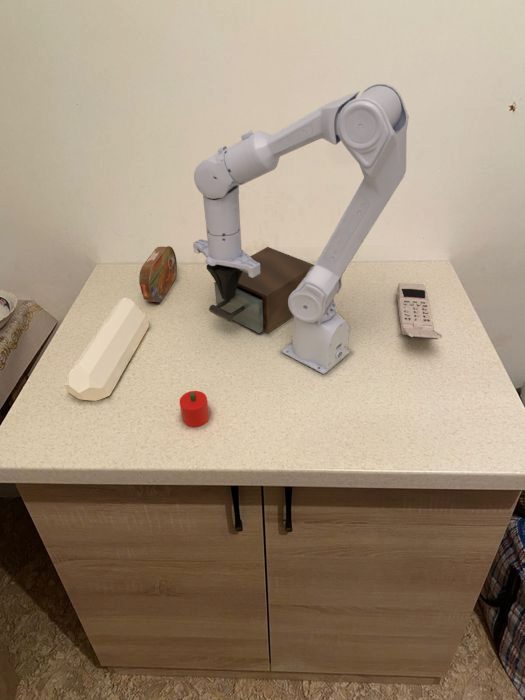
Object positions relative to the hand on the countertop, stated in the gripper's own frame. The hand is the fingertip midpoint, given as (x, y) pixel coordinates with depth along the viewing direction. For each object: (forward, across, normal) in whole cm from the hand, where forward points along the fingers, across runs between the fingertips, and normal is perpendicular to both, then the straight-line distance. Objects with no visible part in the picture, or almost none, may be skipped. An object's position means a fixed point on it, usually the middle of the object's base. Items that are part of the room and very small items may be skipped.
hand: (228, 297), depth 93 cm
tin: (+8, -22, +1) cm, 23 cm away
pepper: (+7, +12, -20) cm, 25 cm away
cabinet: (+7, 0, +11) cm, 13 cm away
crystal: (+8, -10, -20) cm, 24 cm away
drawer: (+7, 0, +6) cm, 9 cm away
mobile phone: (+8, +26, +25) cm, 36 cm away
